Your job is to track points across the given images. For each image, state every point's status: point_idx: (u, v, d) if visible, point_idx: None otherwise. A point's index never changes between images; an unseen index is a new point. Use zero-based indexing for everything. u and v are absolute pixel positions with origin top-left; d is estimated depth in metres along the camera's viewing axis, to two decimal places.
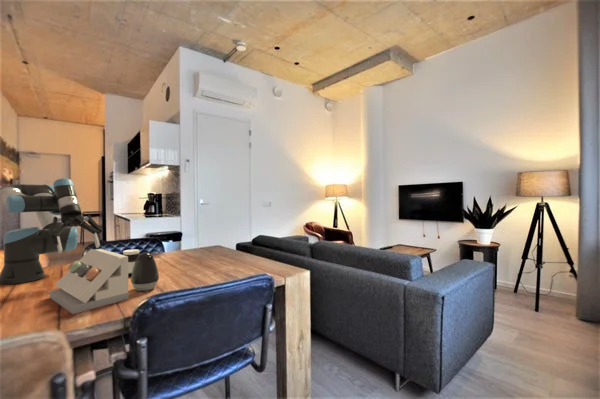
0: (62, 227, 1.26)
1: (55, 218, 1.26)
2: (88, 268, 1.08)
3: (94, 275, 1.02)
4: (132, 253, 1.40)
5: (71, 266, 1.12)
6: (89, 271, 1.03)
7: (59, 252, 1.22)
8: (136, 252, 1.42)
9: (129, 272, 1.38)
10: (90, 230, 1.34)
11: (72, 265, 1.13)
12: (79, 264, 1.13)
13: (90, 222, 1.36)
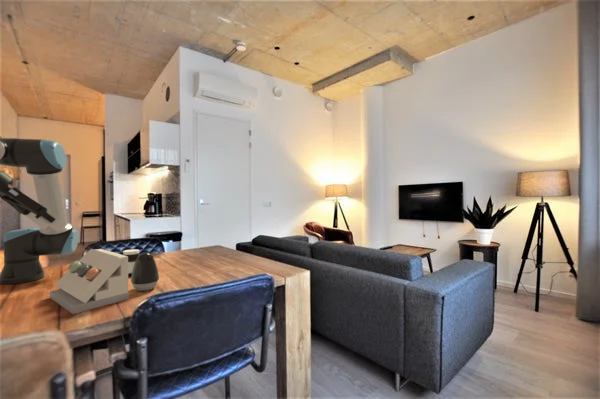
0: (15, 206, 0.91)
1: None
2: (88, 268, 1.08)
3: (94, 275, 1.02)
4: (132, 253, 1.40)
5: (71, 266, 1.12)
6: (89, 271, 1.03)
7: None
8: (136, 252, 1.42)
9: (129, 272, 1.38)
10: None
11: (72, 265, 1.13)
12: (79, 264, 1.13)
13: None
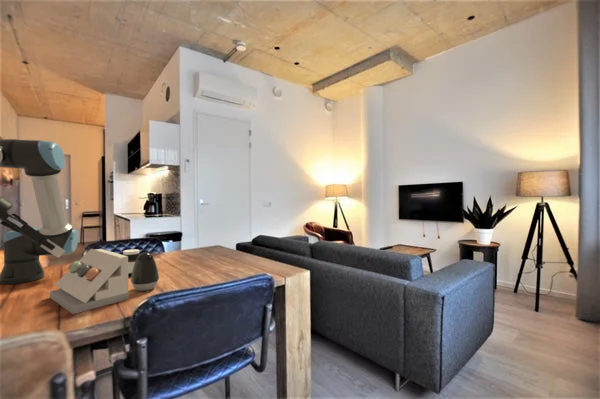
0: (22, 233, 0.89)
1: None
2: (88, 268, 1.08)
3: (94, 275, 1.02)
4: (132, 253, 1.40)
5: (71, 266, 1.12)
6: (89, 271, 1.03)
7: None
8: (136, 252, 1.42)
9: (129, 272, 1.38)
10: None
11: (72, 265, 1.13)
12: (79, 264, 1.13)
13: None
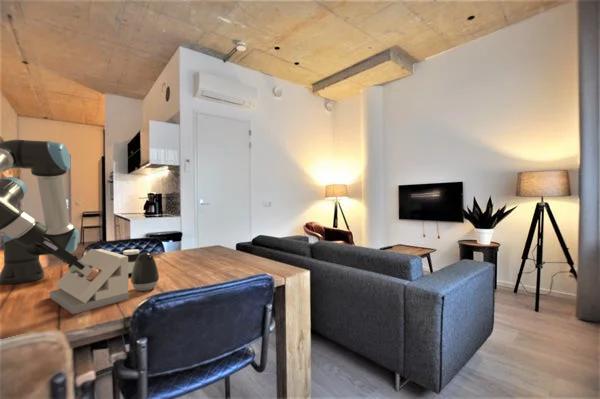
0: (55, 255, 0.96)
1: None
2: None
3: (95, 275, 1.02)
4: (132, 253, 1.40)
5: None
6: None
7: None
8: (136, 252, 1.42)
9: (129, 272, 1.38)
10: None
11: None
12: None
13: None
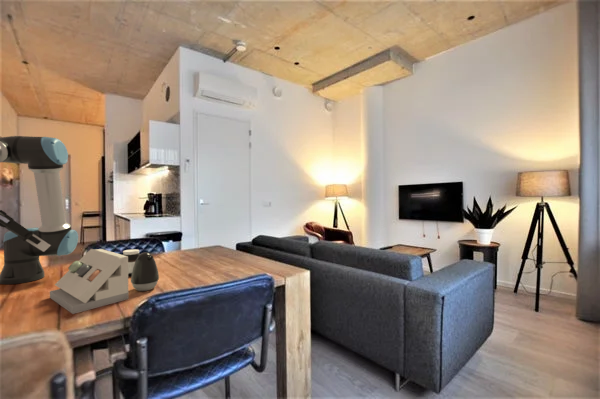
0: (8, 229, 0.94)
1: None
2: (88, 268, 1.08)
3: None
4: (132, 253, 1.40)
5: (71, 266, 1.12)
6: (93, 274, 1.04)
7: None
8: (136, 252, 1.42)
9: (129, 272, 1.38)
10: None
11: (72, 265, 1.13)
12: (79, 264, 1.13)
13: None
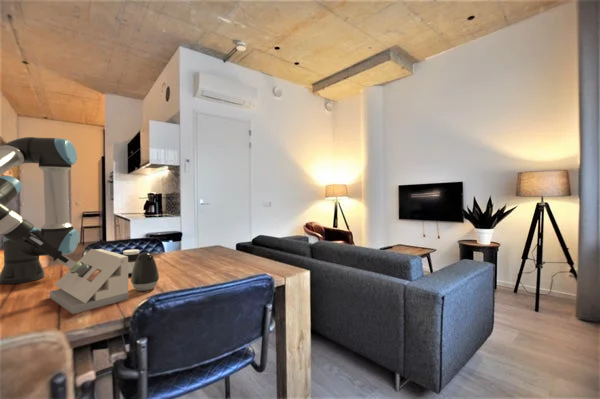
0: (41, 249, 1.06)
1: None
2: (88, 268, 1.08)
3: None
4: (132, 253, 1.40)
5: None
6: (93, 274, 1.04)
7: None
8: (136, 252, 1.42)
9: (129, 272, 1.38)
10: None
11: None
12: (80, 265, 1.13)
13: None
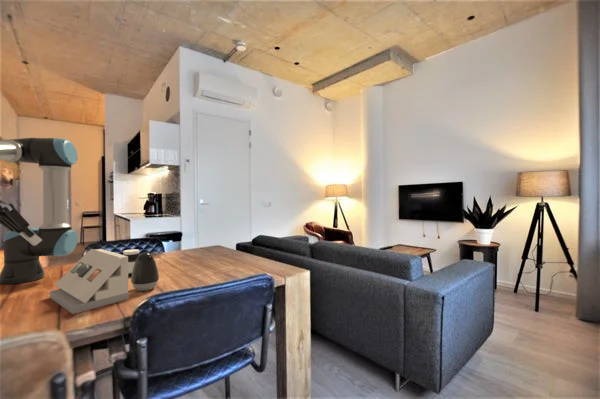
0: (4, 221, 0.99)
1: None
2: (88, 268, 1.08)
3: None
4: (132, 253, 1.40)
5: (75, 269, 1.13)
6: (93, 274, 1.04)
7: None
8: (136, 252, 1.42)
9: (129, 272, 1.38)
10: None
11: (76, 268, 1.14)
12: None
13: None
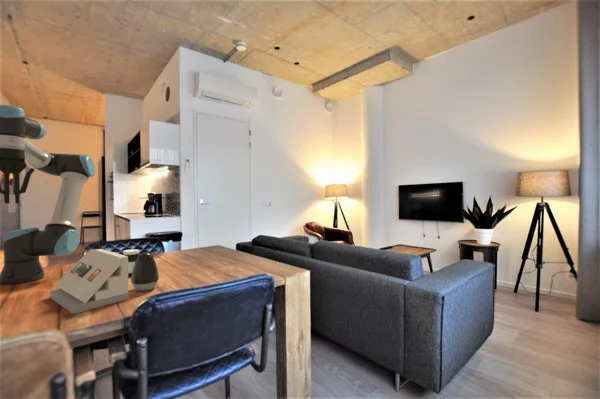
0: (7, 180, 1.06)
1: None
2: (88, 268, 1.08)
3: None
4: (132, 253, 1.40)
5: (75, 269, 1.13)
6: (93, 274, 1.04)
7: None
8: (136, 252, 1.42)
9: (129, 272, 1.38)
10: (13, 186, 1.09)
11: (76, 268, 1.14)
12: None
13: (25, 175, 1.11)
